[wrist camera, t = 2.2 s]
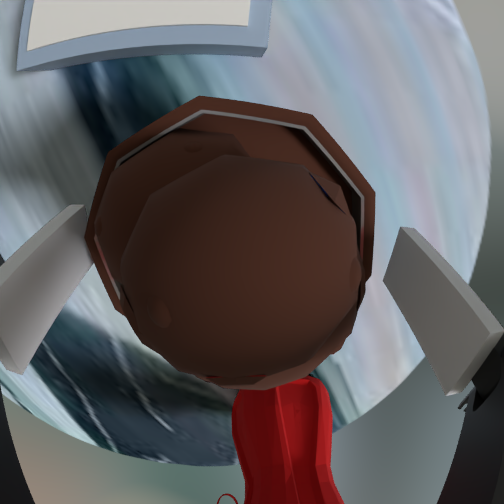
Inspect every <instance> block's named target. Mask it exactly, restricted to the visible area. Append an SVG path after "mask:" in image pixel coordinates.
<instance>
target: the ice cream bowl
mask: <svg viewBox="0 0 504 504" xmlns="http://www.w3.org/2000/svg"><path fill="white" fill-rule="evenodd" d="M374 226H375V191H374V190H373V189H372V187H371V186H370V184H369V183H368V182H367V180H366V179H365V178H364V176H363V175H362V174H361V173H360V171H359V170H358V169H357V167H356V166H355V165H354V164H353V162H352V161H351V160H350V158H349V157H348V156H347V155H346V153H345V152H344V151H343V150H342V149H341V147H340V146H339V145H338V144H337V142H336V141H335V140H334V139H333V138H332V137H331V135H330V134H329V133H328V132H327V131H326V130H325V128H324V127H323V126H322V125H321V124H320V123H319V121H318V120H317V119H316V118H315V117H314V116H313V115H311V114H307V113H302V112H298V111H293V110H288V109H283V108H278V107H273V106H268V105H262V104H256V103H250V102H244V101H237V100H230V99H222V98H214V97H206V96H198V97H196V98H194V99H192V100H190V101H189V102H187V103H185V104H183V105H181V106H180V107H178V108H176V109H174V110H173V111H171V112H169V113H168V114H166V115H164V116H163V117H161V118H159V119H158V120H156V121H154V122H153V123H151V124H150V125H148V126H146V127H145V128H143V129H142V130H140V131H139V132H137V133H136V134H134V135H133V136H131V137H130V138H128V139H127V140H125V141H124V142H122V143H121V144H119V145H118V146H116V147H115V148H113V149H112V150H111V151H109V152H108V154H107V157H106V160H105V163H104V166H103V169H102V172H101V176H100V179H99V182H98V186H97V189H96V192H95V196H94V200H93V203H92V207H91V211H90V215H89V219H88V223H87V227H86V231H85V235H84V239H85V241H86V244H87V246H88V249H89V251H90V254H91V256H92V259H93V261H94V264H95V266H96V268H97V271H98V273H99V275H100V278H101V280H102V282H103V284H104V287H105V289H106V291H107V293H108V295H109V297H110V299H111V302H112V304H113V306H114V308H115V310H117V311H118V312H120V313H121V314H122V315H124V316H125V317H126V318H127V320H128V322H129V323H130V325H131V327H132V329H133V330H134V332H135V334H136V335H137V337H138V338H139V339H140V341H141V342H142V344H144V345H146V346H147V347H149V348H150V349H152V350H154V351H155V352H157V353H158V354H160V355H161V356H162V357H163V358H164V359H166V360H167V361H168V362H169V363H170V364H171V365H172V366H173V367H174V368H176V369H177V370H178V371H180V372H185V373H189V374H193V375H195V376H196V377H197V378H200V379H202V380H204V381H206V382H212V383H214V384H216V385H218V386H220V387H222V388H229V389H246V390H268V389H271V388H274V387H277V386H280V385H283V384H286V383H289V382H292V381H295V380H298V379H301V378H304V377H306V376H307V375H308V374H310V373H311V372H312V371H313V370H314V369H315V368H316V367H317V366H318V365H319V364H321V363H322V362H323V361H324V360H325V359H326V358H327V357H328V356H329V355H330V354H334V353H336V352H337V351H339V350H340V349H341V348H342V346H343V344H344V342H345V339H346V338H347V337H348V336H349V335H350V334H351V333H352V329H353V326H354V323H355V319H356V316H357V311H358V309H359V307H360V305H361V303H362V300H363V298H364V295H365V283H366V281H367V280H368V279H369V277H370V276H371V273H372V261H373V246H374Z"/></svg>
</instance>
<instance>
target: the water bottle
mask: <svg viewBox="0 0 504 504" xmlns="http://www.w3.org/2000/svg"><path fill="white" fill-rule="evenodd" d="M232 436H233V440H234V444H235V447H236V451H237V455H238V458H239V462H240V465H241V469H242V472H243V476H244V479H245V501H244V504H344V502H343V500H342V498H341V496H340V494H339V492H338V490H337V488H336V486H335V484H334V480H333V476H332V472H331V468H330V462H331V444H332V411H331V405H330V399H329V394H328V392H327V390H326V388H325V386H324V384H323V383H322V382H321V381H320V380H319V379H317V378H314V377H311V376H308V375H307V376H306V377H304V378H301V379H298V380H295V381H292V382H289V383H286V384H283V385H280V386H277V387H274V388H271V389H268V390H246V389H240V390H239V392H238V394H237V397H236V398H235V401H234V404H233V409H232ZM224 495H228V496H230V497H232V498H233V499H234V501H235V503H236V504H238V502H237V500H236V499H235V497H233V496H232V495H231V494H223V495H222V496H224ZM222 496H221V497H222ZM221 497H220V498H221ZM220 498H219V499H218V502H217V504H218V503H219V500H220Z"/></svg>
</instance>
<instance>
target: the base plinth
mask: <svg viewBox="0 0 504 504" xmlns="http://www.w3.org/2000/svg"><path fill="white" fill-rule="evenodd" d="M271 8H272V0H26V1H25V6H24V11H23V17H22V23H21V30H20V38H19V46H18V57H17V71H29V70H54V69H59V68H63V67H68V66H73V65H79V64H84V63H90V62H97V61H103V60H111V59H119V58H128V57H139V56H153V55H174V54H216V55H238V56H252V57H262V56H263V54H264V53H265V51H266V49H267V48H268V38H269V28H270V18H271Z"/></svg>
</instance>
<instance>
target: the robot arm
mask: <svg viewBox="0 0 504 504" xmlns="http://www.w3.org/2000/svg"><path fill="white" fill-rule="evenodd" d="M86 227H87V217H86V209H85V205H76V204H70V205H69V206H68V207H66V208H65V209H64V210H63V211H61V212H60V213H59V214H58V215H56V216H55V217H54V218H53V219H52V220H50V221H49V222H48V223H47V224H46V225H45V226H43V227H42V228H41V229H40V230H39V231H38V232H37V233H35V234H34V235H33V236H32V237H31V238H30V239H29V240H28V241H27V242H25V243H24V244H23V245H22V246H21V247H20V248H19V249H18V250H17V251H16V252H15V253H14V254H13V255H12V256H11V257H10V258H9V259H8V260H7V261H6V262H4V260H3V259H2V257H1V255H0V360H1V362H2V364H3V365H4V367H5V368H6V369H7V370H9V371H12V372H15V373H17V374H20V375H23V373H24V371H25V369H26V368H27V366H28V364H29V362H30V360H31V359H32V357H33V355H34V353H35V352H36V350H37V348H38V346H39V345H40V343H41V341H42V340H43V338H44V336H45V335H46V333H47V331H48V330H49V328H50V327H51V325H52V323H53V322H54V320H55V319H56V317H57V315H58V314H59V312H60V311H61V309H62V308H63V306H64V305H65V303H66V302H67V300H68V299H69V297H70V296H71V294H72V293H73V291H74V290H75V288H76V287H77V286H78V284H79V283H80V281H81V280H82V278H83V277H84V276H85V274H86V273H87V271H88V270H89V269H90V267H91V266H92V265H93V263H94V261H93V259H92V256H91V254H90V251H89V249H88V246H87V244H86V241H85V239H84V235H85V231H86ZM383 282H384V284H385V285H386V287H387V288H388V290H389V292H390V293H391V295H392V297H393V298H394V300H395V302H396V303H397V305H398V307H399V309H400V310H401V312H402V314H403V315H404V317H405V319H406V321H407V322H408V324H409V326H410V328H411V330H412V331H413V333H414V335H415V337H416V339H417V340H418V342H419V344H420V346H421V348H422V350H423V352H424V353H425V355H426V357H427V359H428V361H429V363H430V365H431V367H432V369H433V371H434V373H435V375H436V377H437V379H438V381H439V383H440V385H441V387H442V389H443V391H444V393H445V395H446V396H448V395H452V394H456V393H460V392H462V391H463V390H464V388H465V387H466V386H467V385H468V383H469V382H470V381H471V380H472V382H473V384H474V385H475V387H474V388H473V389H472V390H471V392H470V393H469V394H468V395H467V396H466V398H465V399H464V400H463V401H462V402H461V403H460V405H459V407H458V409H461V408H462V407H463V405H464V404H466V403H468V405H467V407H466V408H465V409H464V411H465V412H466V413H465V418H464V422H463V427H462V430H461V434H460V438H459V441H458V445H457V449H456V452H455V455H454V459H453V462H452V464H451V468H450V471H449V473H448V476H447V479H446V482H445V484H444V487H443V490H442V492H441V495H440V497H439V500H438V502H437V504H504V328H503V326H502V325H501V324H500V322H499V321H498V320H497V319H496V317H495V316H494V315H493V314H492V312H490V310H489V309H488V307H487V306H486V305H485V304H484V303H483V301H482V300H481V299H480V298H479V296H478V295H477V294H475V292H474V291H473V290H472V289H471V288H470V287H469V285H468V284H467V283H466V282H465V281H464V280H463V279H462V277H461V276H460V275H459V274H458V273H457V272H456V271H455V270H454V269H453V267H452V266H451V265H450V264H449V263H448V262H447V261H446V260H445V259H444V258H443V257H442V256H441V255H440V254H439V253H438V252H437V250H436V249H435V248H434V247H433V246H432V245H431V244H430V243H429V242H428V241H427V240H426V239H425V238H424V237H423V236H422V235H421V234H420V233H419V232H418V231H417V230H416V229H415V228H408V227H400V229H399V233H398V236H397V239H396V242H395V246H394V249H393V252H392V255H391V258H390V261H389V264H388V267H387V270H386V273H385V276H384V279H383ZM0 504H35V502H34V500H33V498H32V495H31V493H30V490H29V488H28V485H27V483H26V480H25V478H24V475H23V472H22V469H21V466H20V463H19V460H18V457H17V454H16V451H15V447H14V444H13V440H12V437H11V433H10V429H9V425H8V421H7V417H6V412H5V408H4V403H3V398H2V392H1V386H0Z"/></svg>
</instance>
